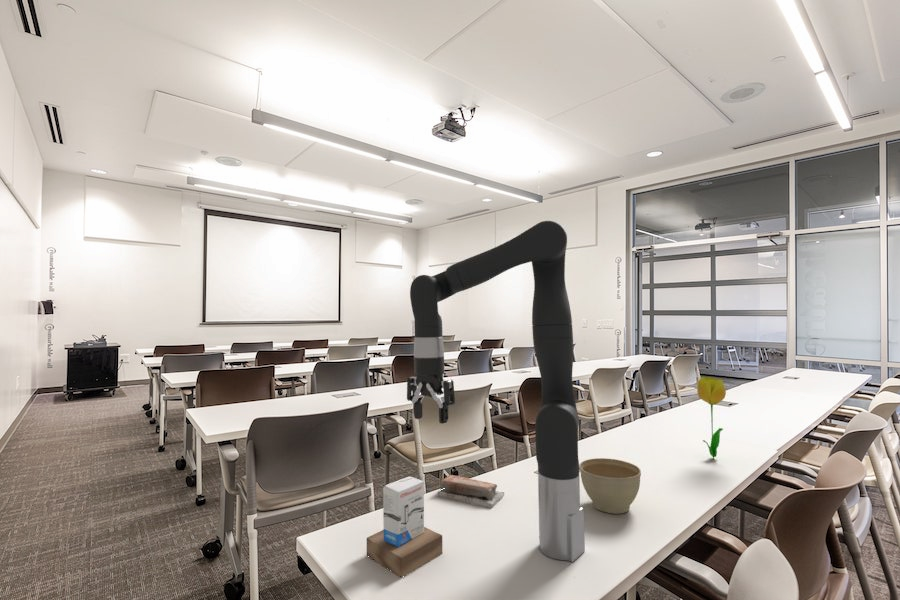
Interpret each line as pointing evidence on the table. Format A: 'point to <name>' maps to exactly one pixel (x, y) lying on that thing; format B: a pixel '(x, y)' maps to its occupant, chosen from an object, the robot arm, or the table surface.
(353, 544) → the table surface
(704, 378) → the flower
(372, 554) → the walnut base
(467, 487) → the packaged product
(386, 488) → the ink box
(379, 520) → the table surface
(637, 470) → the planter bowl
